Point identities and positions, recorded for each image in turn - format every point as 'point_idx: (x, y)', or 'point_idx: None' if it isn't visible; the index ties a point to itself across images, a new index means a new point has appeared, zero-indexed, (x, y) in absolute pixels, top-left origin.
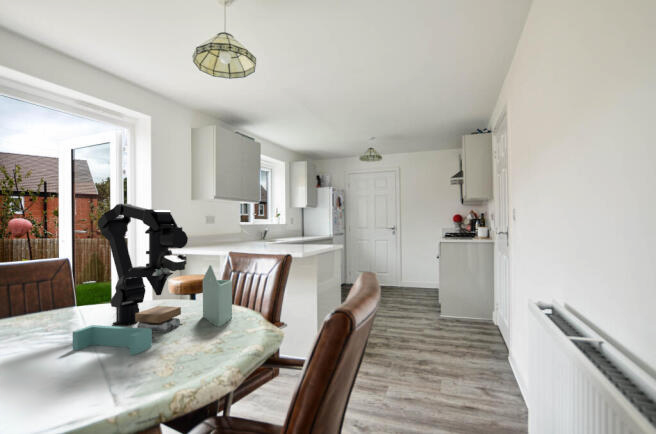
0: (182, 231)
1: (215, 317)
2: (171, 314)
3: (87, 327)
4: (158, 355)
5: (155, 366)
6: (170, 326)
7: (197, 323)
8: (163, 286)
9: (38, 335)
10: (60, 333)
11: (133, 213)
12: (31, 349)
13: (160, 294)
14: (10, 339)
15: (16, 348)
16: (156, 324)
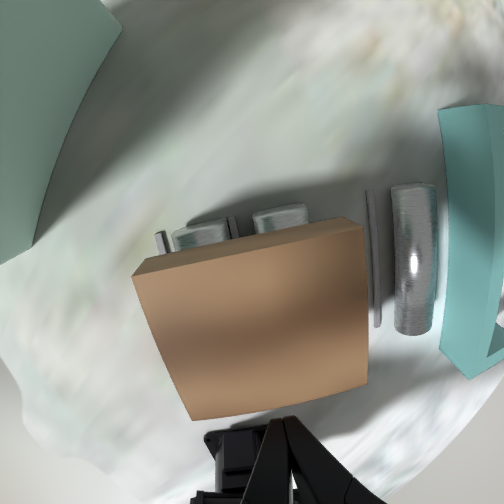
0: None
1: (87, 48)
2: (238, 245)
3: (488, 363)
4: (460, 40)
5: (486, 14)
6: (256, 214)
7: (108, 173)
8: (257, 480)
9: (390, 474)
10: (376, 466)
11: None
12: (468, 401)
13: (278, 419)
14: (412, 476)
15: (459, 424)
16: None
